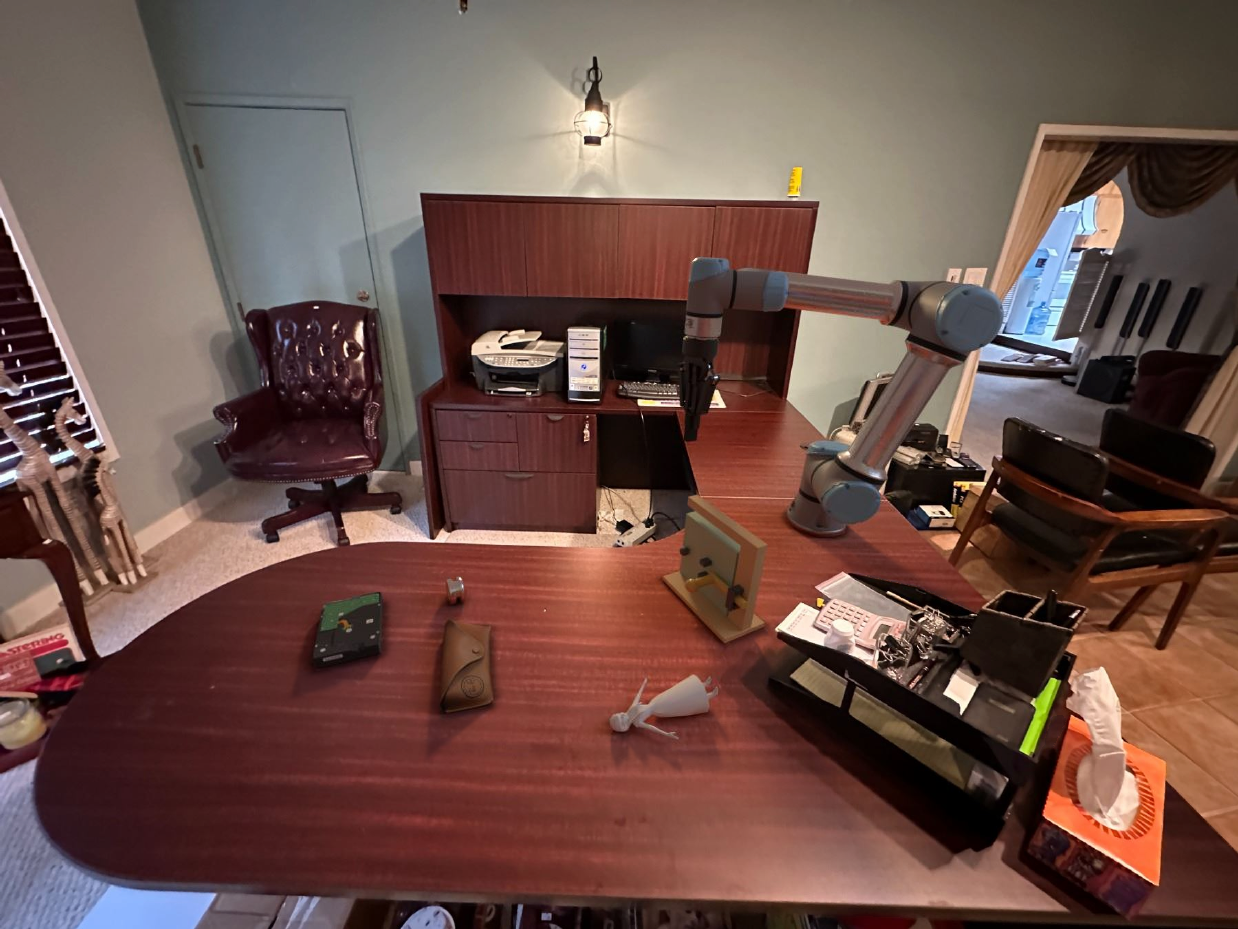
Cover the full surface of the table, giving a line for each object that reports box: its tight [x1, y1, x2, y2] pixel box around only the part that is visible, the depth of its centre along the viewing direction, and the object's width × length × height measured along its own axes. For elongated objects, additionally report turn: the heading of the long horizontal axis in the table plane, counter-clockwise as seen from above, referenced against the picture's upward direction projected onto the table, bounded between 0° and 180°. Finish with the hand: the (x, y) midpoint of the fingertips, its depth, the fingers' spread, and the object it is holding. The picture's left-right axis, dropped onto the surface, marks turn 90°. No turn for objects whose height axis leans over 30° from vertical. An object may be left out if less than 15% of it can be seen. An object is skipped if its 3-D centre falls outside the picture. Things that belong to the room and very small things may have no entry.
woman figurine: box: [609, 673, 719, 740], centre depth 77 cm, size 12×4×18 cm
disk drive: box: [312, 591, 384, 669], centre depth 90 cm, size 10×3×15 cm
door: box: [662, 494, 768, 644], centre depth 99 cm, size 10×21×20 cm, turn 29°
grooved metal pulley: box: [445, 575, 467, 605], centre depth 99 cm, size 5×3×5 cm, turn 30°
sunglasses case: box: [438, 618, 494, 714], centre depth 84 cm, size 18×7×7 cm, turn 16°
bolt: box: [685, 572, 748, 609], centre depth 93 cm, size 7×10×3 cm
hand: (690, 440), depth 114 cm, fingers closed
